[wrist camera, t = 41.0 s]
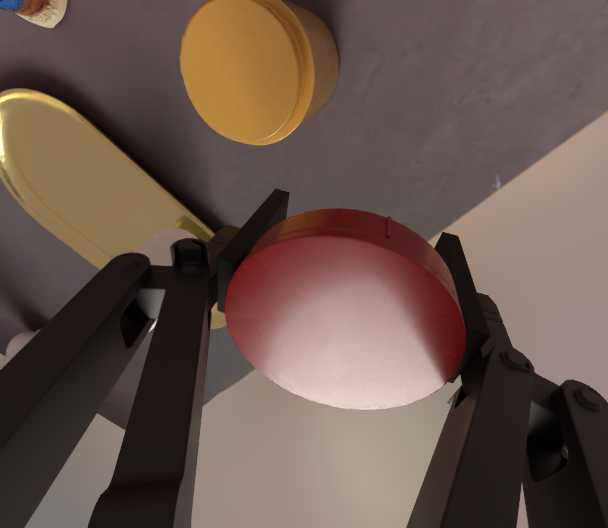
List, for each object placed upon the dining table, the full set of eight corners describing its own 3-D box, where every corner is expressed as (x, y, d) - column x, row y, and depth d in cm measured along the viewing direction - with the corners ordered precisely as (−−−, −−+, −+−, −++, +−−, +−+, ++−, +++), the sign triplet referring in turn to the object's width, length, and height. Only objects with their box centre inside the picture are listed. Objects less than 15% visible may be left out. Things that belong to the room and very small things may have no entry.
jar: (350, 17, 22) (321, -4, 14) (328, 128, 26) (296, 165, 18) (249, -3, 23) (164, -33, 14) (245, 109, 27) (178, 135, 19)
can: (166, 214, 34) (76, 279, 24) (217, 246, 35) (149, 320, 25) (154, 253, 38) (72, 321, 28) (200, 280, 39) (136, 357, 29)
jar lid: (268, 167, 9) (244, 188, 8) (513, 264, 9) (535, 303, 8) (231, 329, 14) (212, 360, 13) (391, 394, 14) (390, 434, 13)
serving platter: (11, 38, 29) (-6, 38, 28) (281, 282, 38) (277, 290, 36) (-11, 171, 39) (-24, 175, 38) (205, 338, 48) (200, 346, 47)
